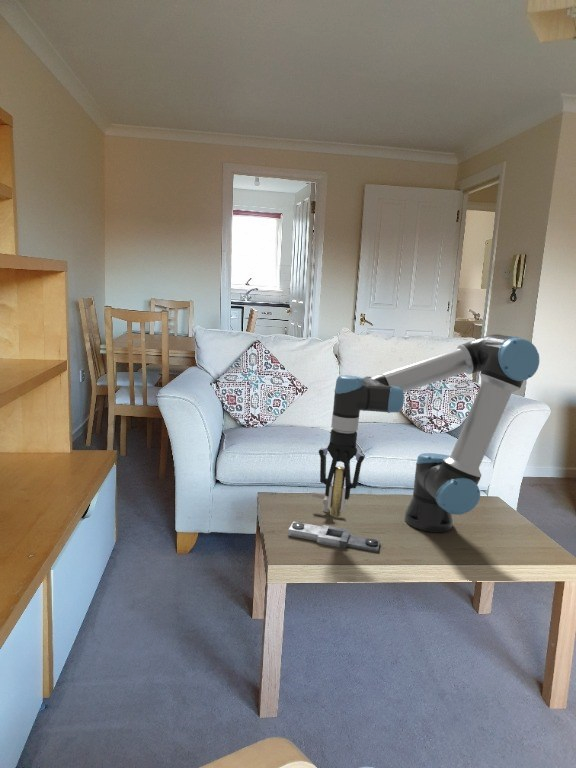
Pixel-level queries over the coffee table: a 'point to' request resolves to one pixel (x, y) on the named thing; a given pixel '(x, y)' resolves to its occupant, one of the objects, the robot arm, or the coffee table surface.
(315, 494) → the pipe connector
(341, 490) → the pin
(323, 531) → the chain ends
